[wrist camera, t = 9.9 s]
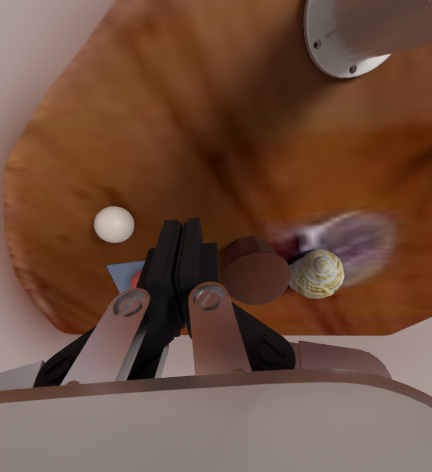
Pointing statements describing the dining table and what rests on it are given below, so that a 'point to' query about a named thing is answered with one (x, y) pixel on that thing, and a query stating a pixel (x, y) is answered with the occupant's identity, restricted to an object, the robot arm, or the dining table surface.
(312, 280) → the seashell
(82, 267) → the dining table surface
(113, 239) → the cue ball
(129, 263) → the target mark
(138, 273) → the red ball
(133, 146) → the dining table surface
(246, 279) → the muffin
